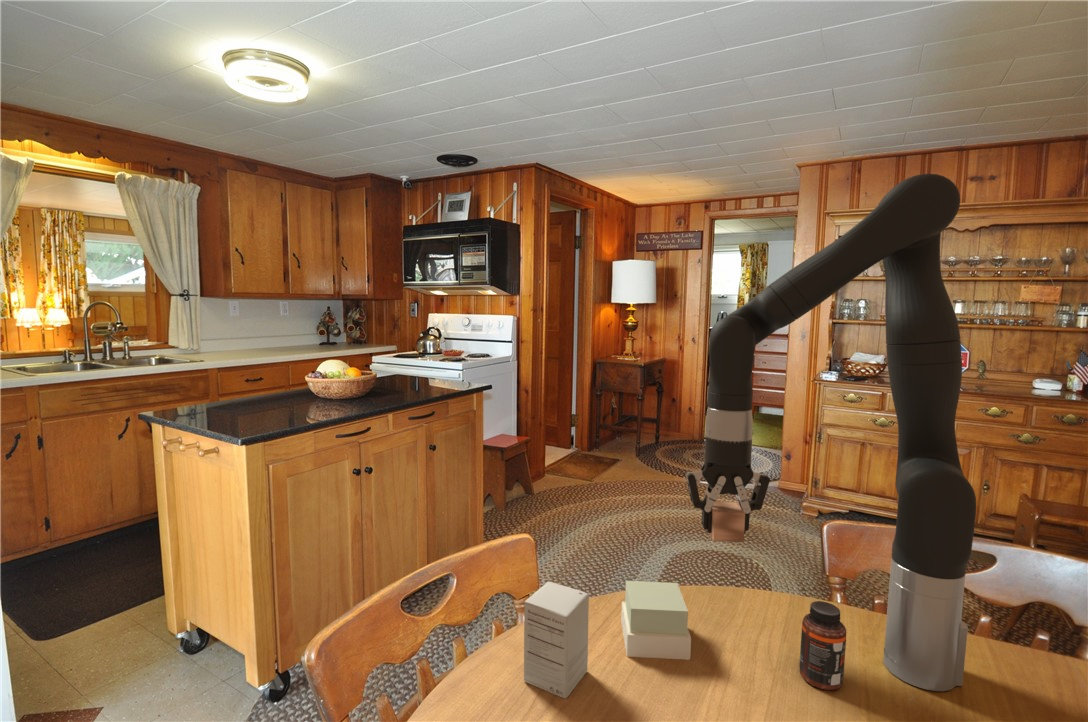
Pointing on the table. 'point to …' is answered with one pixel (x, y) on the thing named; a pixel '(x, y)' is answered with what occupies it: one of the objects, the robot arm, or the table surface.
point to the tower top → (655, 608)
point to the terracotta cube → (727, 522)
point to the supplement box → (556, 638)
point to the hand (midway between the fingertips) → (724, 531)
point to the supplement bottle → (823, 646)
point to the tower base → (654, 642)
